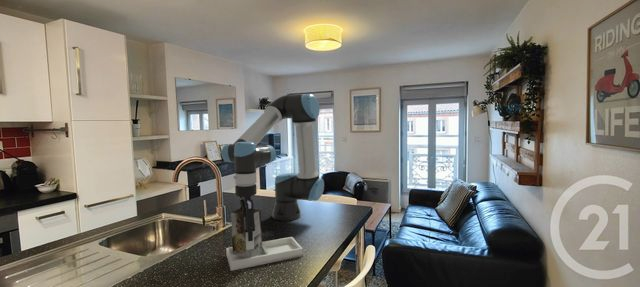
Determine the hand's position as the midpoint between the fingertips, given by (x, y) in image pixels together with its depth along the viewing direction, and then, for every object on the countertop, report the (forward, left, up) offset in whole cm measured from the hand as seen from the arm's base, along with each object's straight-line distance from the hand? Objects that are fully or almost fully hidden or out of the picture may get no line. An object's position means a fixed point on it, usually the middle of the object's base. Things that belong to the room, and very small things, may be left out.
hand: (247, 243), depth 109 cm
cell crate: (0, +6, -6) cm, 9 cm away
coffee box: (0, 0, -4) cm, 4 cm away
